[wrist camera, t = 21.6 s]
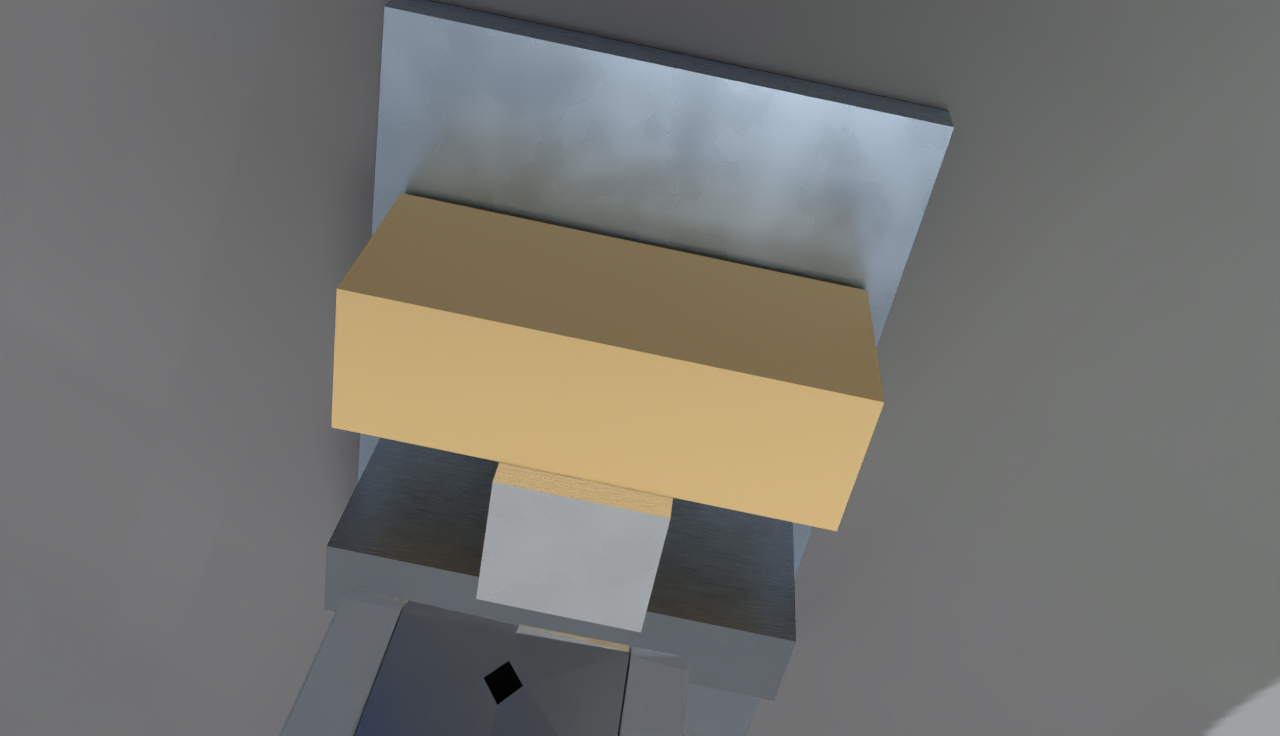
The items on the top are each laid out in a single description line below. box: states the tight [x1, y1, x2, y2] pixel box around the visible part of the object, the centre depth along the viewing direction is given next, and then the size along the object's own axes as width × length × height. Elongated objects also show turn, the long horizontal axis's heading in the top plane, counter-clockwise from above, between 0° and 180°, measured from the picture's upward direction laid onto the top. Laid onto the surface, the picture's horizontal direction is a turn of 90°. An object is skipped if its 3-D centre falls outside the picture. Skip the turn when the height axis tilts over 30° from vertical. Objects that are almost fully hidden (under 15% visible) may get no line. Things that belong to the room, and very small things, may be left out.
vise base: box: [324, 0, 954, 736], centre depth 40 cm, size 25×18×8 cm
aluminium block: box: [476, 462, 673, 632], centre depth 39 cm, size 5×6×8 cm
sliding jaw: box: [332, 193, 884, 531], centre depth 37 cm, size 5×16×7 cm, turn 80°
